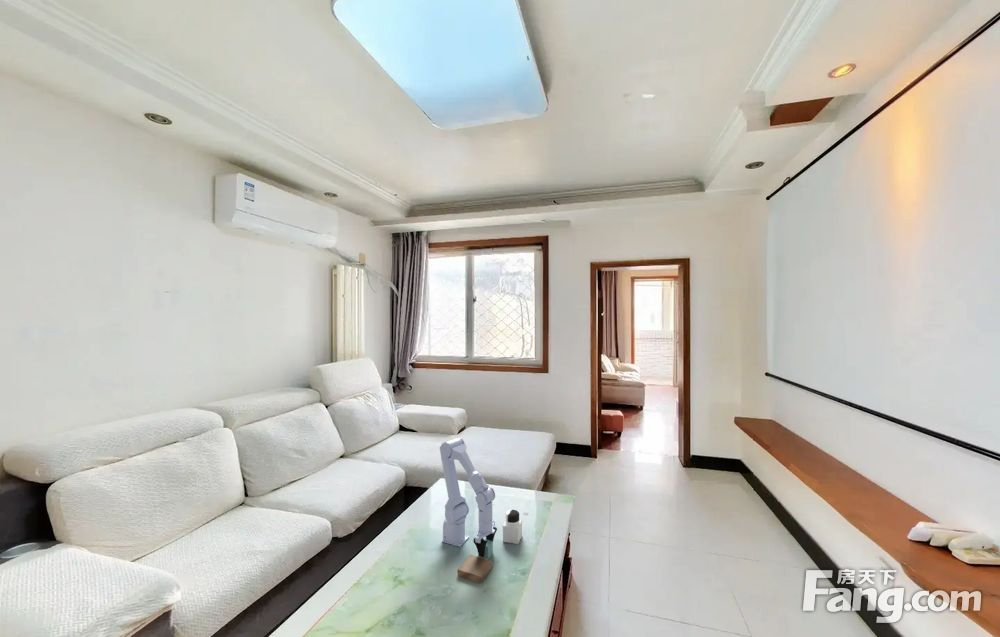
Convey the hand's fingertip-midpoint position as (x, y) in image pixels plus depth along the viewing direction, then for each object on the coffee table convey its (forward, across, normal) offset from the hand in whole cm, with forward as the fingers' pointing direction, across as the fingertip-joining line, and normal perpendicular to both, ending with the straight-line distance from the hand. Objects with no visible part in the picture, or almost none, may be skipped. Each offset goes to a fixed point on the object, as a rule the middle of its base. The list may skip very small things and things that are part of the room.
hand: (485, 550), depth 159 cm
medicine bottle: (+2, +15, -6) cm, 16 cm away
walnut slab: (+2, -11, -1) cm, 11 cm away
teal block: (+2, 0, 0) cm, 2 cm away
